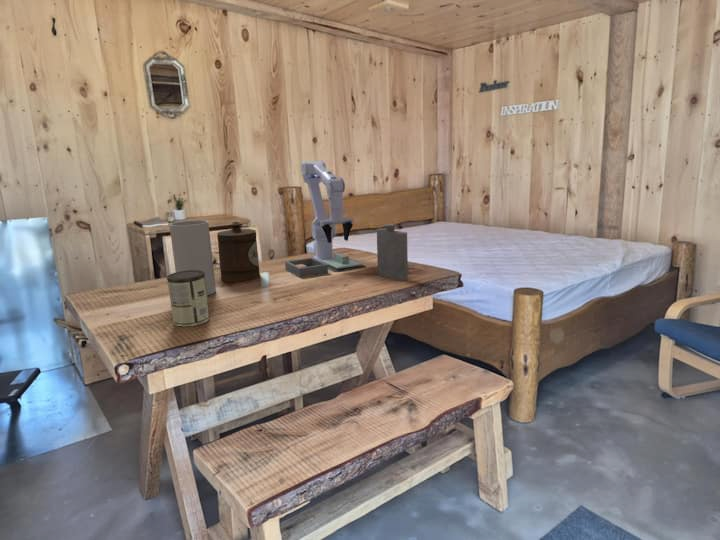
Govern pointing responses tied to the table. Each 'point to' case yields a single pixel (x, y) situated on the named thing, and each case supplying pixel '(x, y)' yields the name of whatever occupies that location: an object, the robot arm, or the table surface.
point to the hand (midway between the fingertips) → (337, 241)
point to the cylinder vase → (193, 249)
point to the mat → (344, 268)
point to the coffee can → (188, 298)
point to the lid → (341, 261)
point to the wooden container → (238, 254)
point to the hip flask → (392, 253)
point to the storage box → (306, 267)
